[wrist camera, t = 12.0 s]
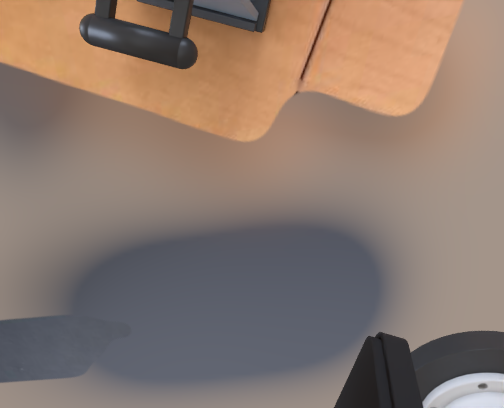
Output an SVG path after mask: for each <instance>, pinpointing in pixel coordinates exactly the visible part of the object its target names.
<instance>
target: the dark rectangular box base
mask: <svg viewBox="0 0 504 408" xmlns="http://www.w3.org/2000/svg"><path fill="white" fill-rule="evenodd" d="M137 1H138V2H142V3H146V4H150V5H154V6H157V7H161V8H165V9H169V10H173V6H174V0H137ZM250 1H251V3H252V4H253V6H254V7H255V9H256V10H257V11H258V13H259V14H258V18H257V21H254V20H250V19H246V18H242V17H238V16H234V15H231V14H227V13H223V12H219V11H215V10H211V9H208V8H204V7H200V6H196V5H193V8H192V13H191V15H192V16H195V17H199V18H203V19H207V20H211V21H215V22H218V23H222V24H226V25H230V26H234V27H237V28H241V29H245V30H249V31H253V32H254V31H257V32H261V33H262V32H264V28H265V24H266V19H267V15H268V10H269V6H270V1H271V0H250Z"/></svg>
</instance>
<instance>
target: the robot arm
mask: <svg viewBox="0 0 504 408" xmlns="http://www.w3.org/2000/svg"><path fill="white" fill-rule="evenodd" d="M334 408H504V374H500V373H475V374H468V375H464V376H460V377H456V378H454V379H451V380H449V381H446V382H444V383H443V384H441V385H439V386H438V387H436V388H435V389H434V390H433V391H431V392H430V393H429V394H428V395H427V397H426V398H425V399H424V401H423V402H422V400H421V395H420V391H419V387H418V383H417V379H416V374H415V370H414V366H413V362H412V357H411V353H410V349H409V345H408V343H407V341H406V340H405V339H403V338H399V337H396V336H392V335H389V334H385V333H382V332H379V333H378V334H377V335H376V337H371V336H368V337H367V338H366V340H365V342H364V344H363V347H362V349H361V351H360V353H359V355H358V357H357V359H356V362H355V364H354V366H353V368H352V370H351V372H350V375H349V377H348V379H347V381H346V383H345V385H344V387H343V390H342V392H341V394H340V396H339V398H338V400H337V402H336V405H335V407H334Z"/></svg>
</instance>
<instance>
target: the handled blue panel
mask: <svg viewBox="0 0 504 408" xmlns="http://www.w3.org/2000/svg"><path fill="white" fill-rule="evenodd" d="M193 5H196V6H200V7H204V8H208V9H211V10H215V11H219V12H223V13H227V14H231V15H234V16H238V17H242V18H246V19H250V20H254V21H257V18H258V14H259V13H258V11H257V10H256V9H255V7H254V6H253V4H252V3H251V1H250V0H174V6H173V12H172V17H171V23H170V29H169V33H168V32H164V31H160V30H156V29H152V28H149V27H145V26H141V25H137V24H134V23H130V22H126V21H122V20H118V19H115V13H116V6H117V0H96V7H95V14H94V13H93V14H88V15H86V16H85V17H83V19H82V20H81V22H80V27H79V29H80V33H81V36H82V37H83V39H84V40H85V41H86V42H87V43H89V44H91V45H93V46H97V47H101V48H104V49H108V50H112V51H115V52H119V53H123V54H127V55H130V56H134V57H138V58H142V59H145V60H149V61H153V62H157V63H160V64H164V65H168V66H172V67H175V68H179V69H187V68H190V67H191V66H193V65H194V63H195V62H196V60H197V57H198V51H197V47H196V45H195V44H194V42H193V41H192V40H190V39H189V38H187V35H188V29H189V24H190V19H191V13H192V8H193Z"/></svg>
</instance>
